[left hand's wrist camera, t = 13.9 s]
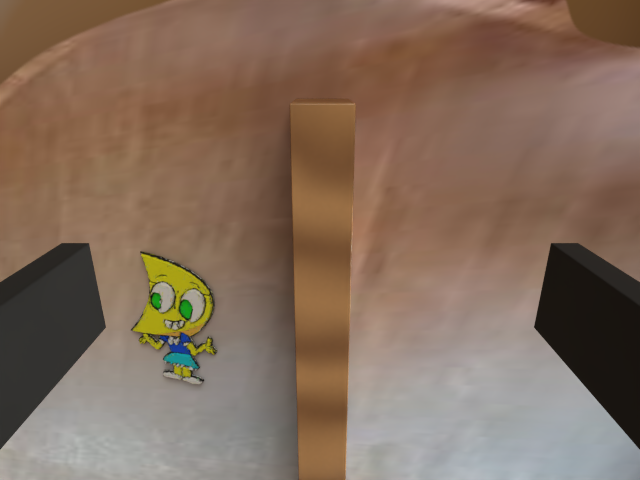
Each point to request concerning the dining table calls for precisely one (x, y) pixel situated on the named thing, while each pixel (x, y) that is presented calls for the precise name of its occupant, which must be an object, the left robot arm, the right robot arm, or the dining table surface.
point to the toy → (176, 315)
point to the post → (322, 278)
